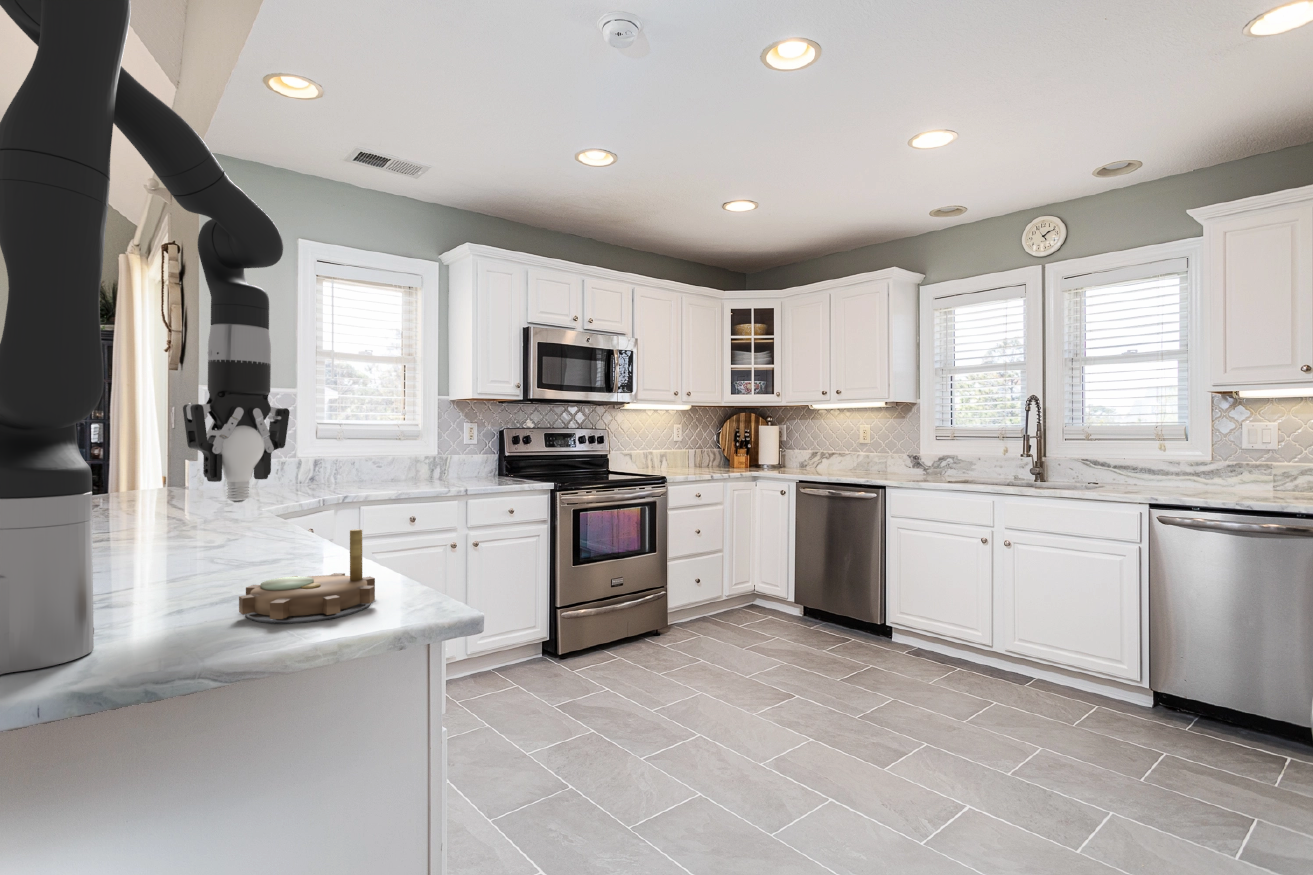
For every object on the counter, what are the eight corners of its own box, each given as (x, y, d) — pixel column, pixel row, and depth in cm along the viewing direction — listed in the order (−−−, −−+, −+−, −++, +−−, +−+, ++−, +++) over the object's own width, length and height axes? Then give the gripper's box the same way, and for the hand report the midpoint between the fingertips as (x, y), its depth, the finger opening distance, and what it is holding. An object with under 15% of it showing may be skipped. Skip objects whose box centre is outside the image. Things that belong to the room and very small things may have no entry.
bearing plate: (297, 629, 82) (297, 625, 82) (220, 613, 89) (220, 610, 89) (395, 601, 96) (395, 597, 96) (321, 589, 102) (321, 585, 102)
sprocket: (397, 602, 92) (397, 535, 92) (260, 627, 81) (259, 551, 81) (350, 581, 104) (350, 522, 104) (223, 600, 92) (223, 534, 92)
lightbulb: (222, 506, 92) (223, 423, 92) (203, 502, 95) (203, 423, 95) (272, 502, 97) (272, 424, 97) (252, 499, 101) (252, 424, 100)
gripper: (203, 353, 88) (201, 484, 88) (304, 364, 101) (302, 478, 101) (168, 355, 91) (167, 482, 91) (270, 366, 104) (269, 476, 104)
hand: (238, 479), depth 96 cm, fingers closed on lightbulb, 6 cm apart
